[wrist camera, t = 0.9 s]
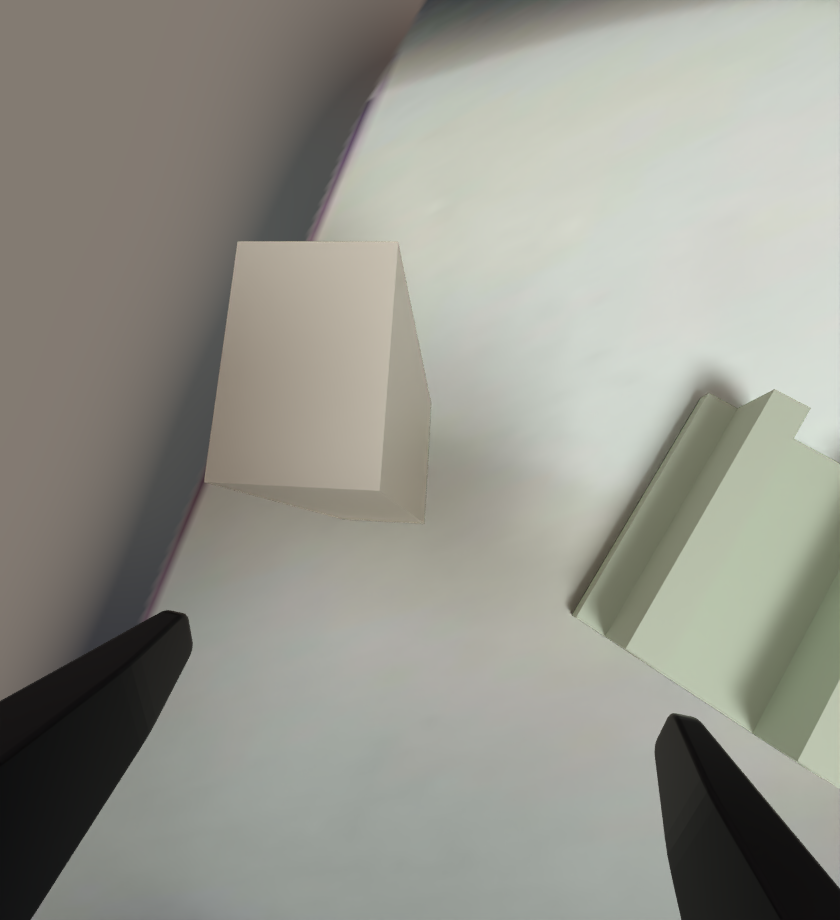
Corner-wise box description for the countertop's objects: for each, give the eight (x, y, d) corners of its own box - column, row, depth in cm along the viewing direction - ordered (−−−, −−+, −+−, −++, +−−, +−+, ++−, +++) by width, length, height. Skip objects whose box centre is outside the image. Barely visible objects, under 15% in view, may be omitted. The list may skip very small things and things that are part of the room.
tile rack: (807, 769, 20) (879, 814, 17) (571, 615, 22) (592, 627, 18) (933, 524, 21) (1023, 519, 18) (700, 398, 23) (741, 372, 20)
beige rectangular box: (424, 523, 23) (379, 490, 11) (342, 519, 24) (203, 482, 11) (431, 403, 24) (398, 241, 12) (353, 401, 25) (237, 241, 12)
